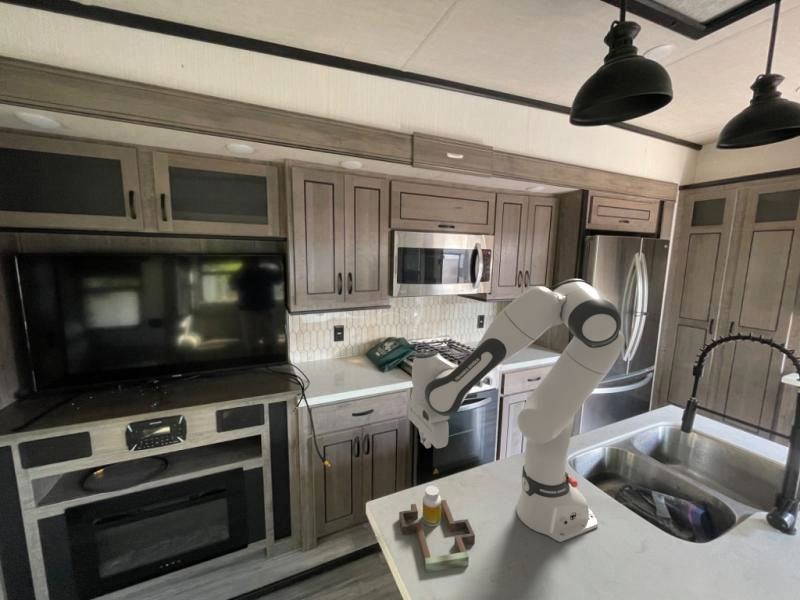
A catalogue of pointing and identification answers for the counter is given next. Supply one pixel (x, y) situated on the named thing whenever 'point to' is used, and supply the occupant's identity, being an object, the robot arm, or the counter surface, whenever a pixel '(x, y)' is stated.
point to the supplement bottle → (431, 506)
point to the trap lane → (460, 540)
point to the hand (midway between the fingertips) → (425, 445)
